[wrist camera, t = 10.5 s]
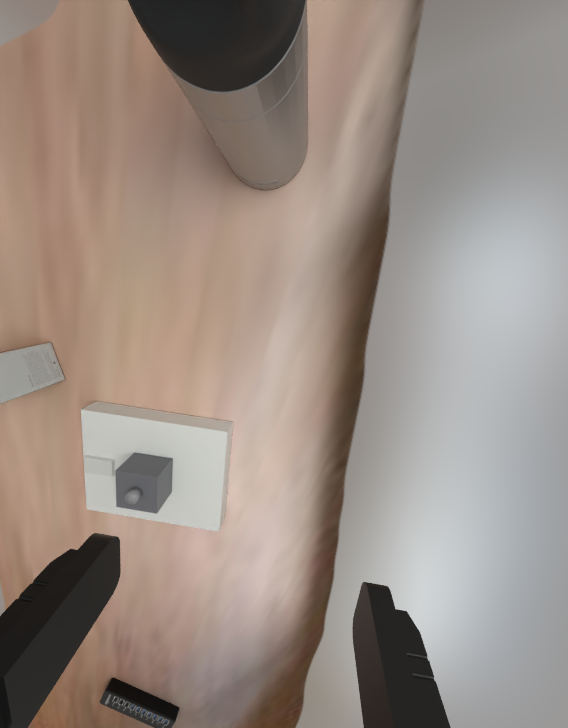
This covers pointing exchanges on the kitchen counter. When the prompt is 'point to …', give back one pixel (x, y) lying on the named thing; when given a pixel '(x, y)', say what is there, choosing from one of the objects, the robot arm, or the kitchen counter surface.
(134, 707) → the multiport hub
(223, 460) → the socket plate
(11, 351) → the small box
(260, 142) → the robot arm
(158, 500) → the plug
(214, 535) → the kitchen counter surface
